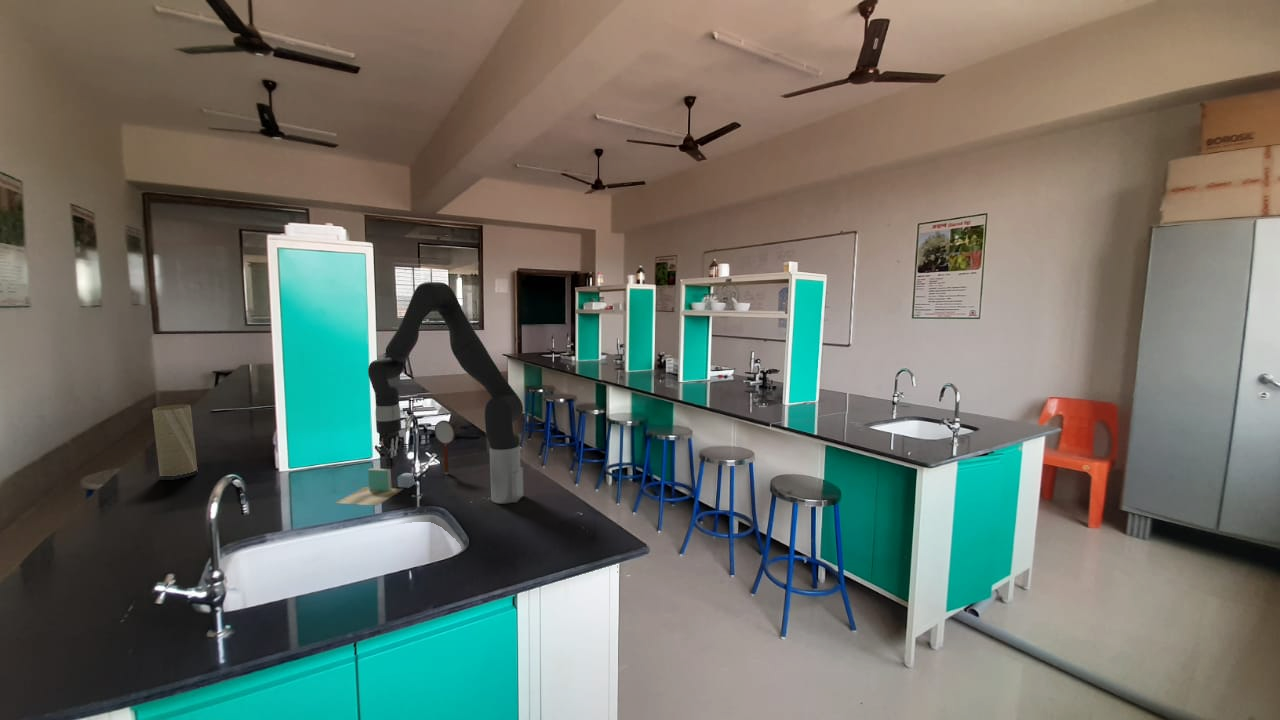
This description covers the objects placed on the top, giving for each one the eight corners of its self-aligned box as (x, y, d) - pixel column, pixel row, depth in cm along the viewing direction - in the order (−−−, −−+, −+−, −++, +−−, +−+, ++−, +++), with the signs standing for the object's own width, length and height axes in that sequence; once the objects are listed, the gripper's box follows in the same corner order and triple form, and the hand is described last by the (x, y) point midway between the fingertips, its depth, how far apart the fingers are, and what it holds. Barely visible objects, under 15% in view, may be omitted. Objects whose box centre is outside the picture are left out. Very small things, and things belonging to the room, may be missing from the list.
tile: (391, 489, 170) (390, 469, 170) (388, 491, 169) (387, 470, 168) (372, 488, 171) (370, 468, 171) (369, 490, 170) (367, 469, 169)
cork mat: (403, 490, 171) (403, 488, 171) (376, 506, 157) (376, 505, 157) (365, 487, 173) (365, 486, 173) (335, 504, 159) (334, 503, 159)
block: (416, 484, 176) (415, 473, 176) (409, 488, 173) (408, 477, 172) (405, 484, 177) (404, 472, 177) (398, 488, 173) (397, 476, 173)
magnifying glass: (458, 475, 185) (456, 420, 183) (455, 476, 184) (452, 421, 181) (438, 472, 188) (436, 419, 186) (435, 474, 187) (432, 420, 184)
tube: (152, 480, 180) (143, 410, 177) (178, 471, 190) (171, 404, 187) (179, 481, 179) (172, 410, 177) (204, 471, 189) (198, 404, 186)
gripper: (386, 422, 166) (389, 474, 169) (410, 413, 179) (412, 462, 182) (364, 421, 168) (368, 473, 170) (390, 413, 181) (393, 461, 183)
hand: (391, 467), depth 176 cm, fingers closed
